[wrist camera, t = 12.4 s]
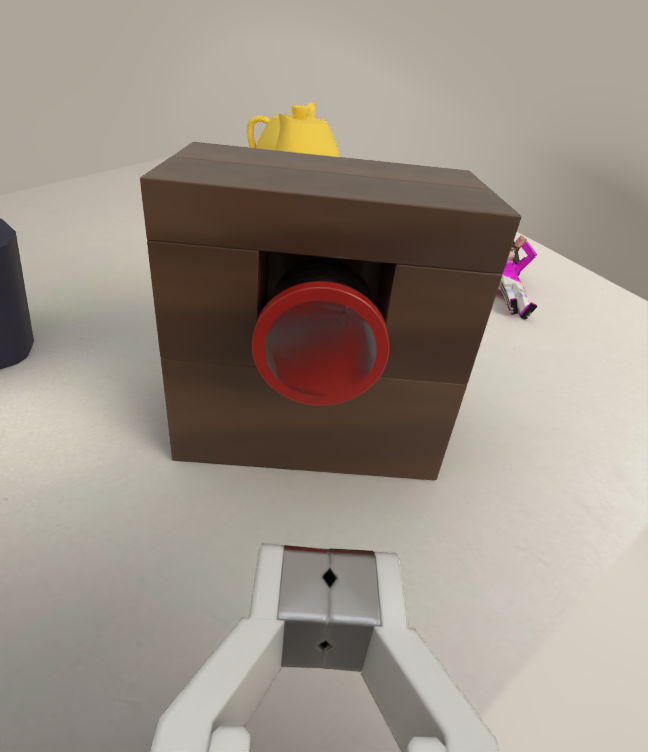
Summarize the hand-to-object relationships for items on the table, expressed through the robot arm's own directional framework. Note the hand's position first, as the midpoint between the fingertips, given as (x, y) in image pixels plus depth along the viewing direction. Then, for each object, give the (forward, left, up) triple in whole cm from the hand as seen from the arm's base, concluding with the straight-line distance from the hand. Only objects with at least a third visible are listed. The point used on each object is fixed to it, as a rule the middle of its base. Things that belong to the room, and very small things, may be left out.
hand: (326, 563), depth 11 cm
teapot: (+68, -19, -9) cm, 71 cm away
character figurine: (+30, -30, -9) cm, 43 cm away
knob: (+10, -4, -3) cm, 11 cm away
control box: (+15, -5, -9) cm, 18 cm away
